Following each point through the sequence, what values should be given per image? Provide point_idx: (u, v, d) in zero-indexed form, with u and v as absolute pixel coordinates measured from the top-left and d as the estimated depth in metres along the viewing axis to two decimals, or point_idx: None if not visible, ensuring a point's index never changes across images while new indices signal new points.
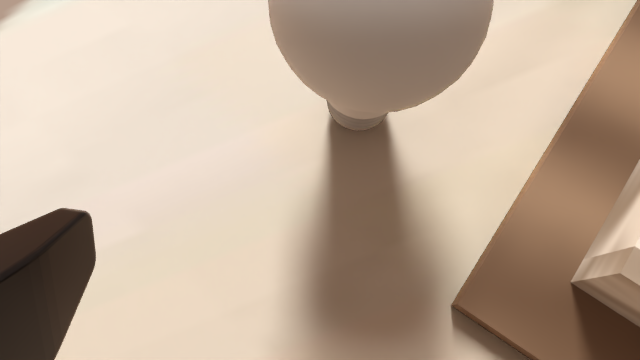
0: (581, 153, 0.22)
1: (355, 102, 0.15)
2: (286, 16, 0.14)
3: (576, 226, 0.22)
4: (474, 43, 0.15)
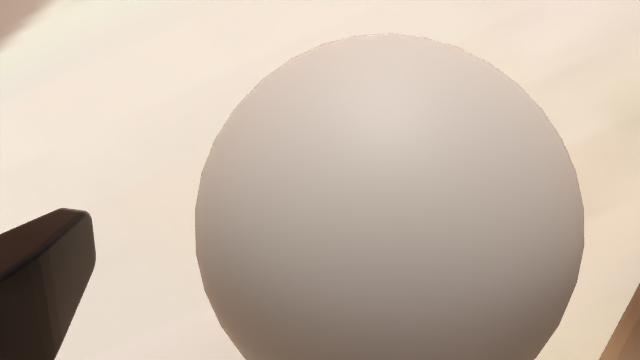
0: None
1: None
2: (216, 289, 0.08)
3: None
4: (552, 332, 0.08)
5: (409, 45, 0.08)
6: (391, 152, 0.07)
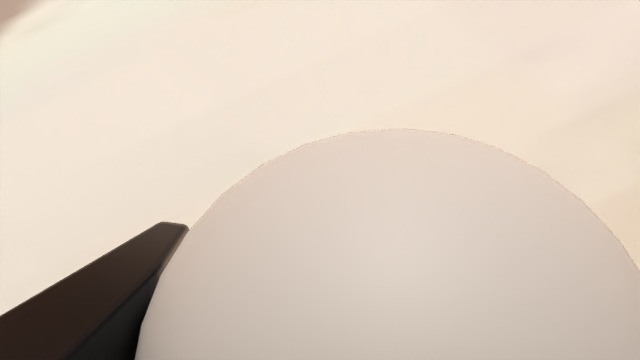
0: None
1: None
2: None
3: None
4: None
5: (438, 165, 0.05)
6: None
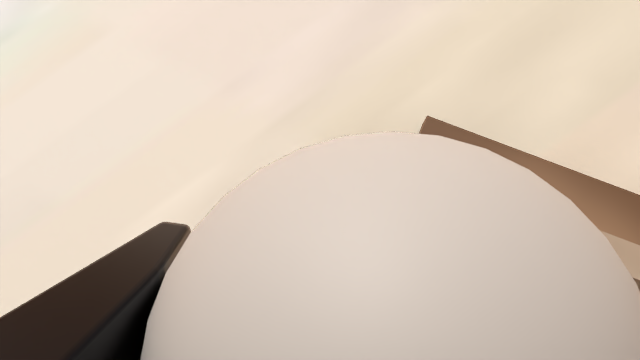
0: None
1: None
2: None
3: None
4: None
5: (414, 166, 0.06)
6: None
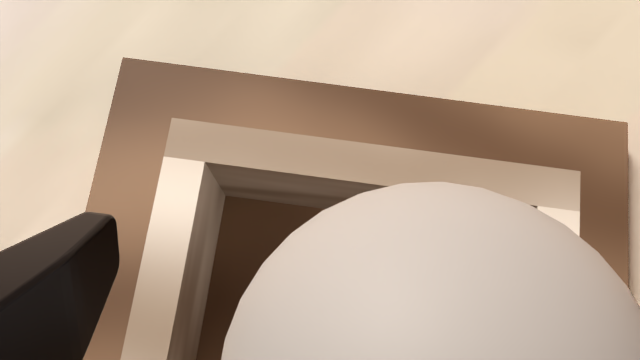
0: None
1: None
2: None
3: None
4: None
5: (482, 224, 0.07)
6: None
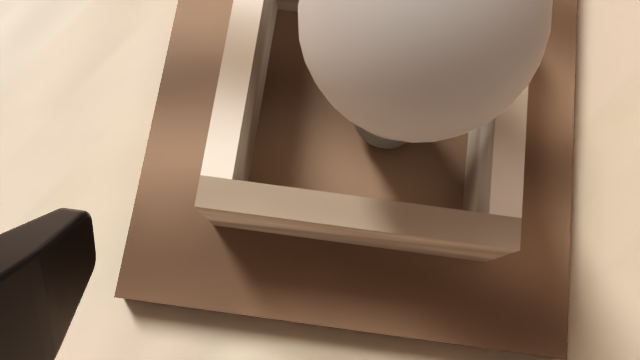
0: (183, 100, 0.22)
1: (389, 132, 0.14)
2: (318, 35, 0.13)
3: (201, 170, 0.22)
4: (528, 73, 0.13)
5: None
6: None
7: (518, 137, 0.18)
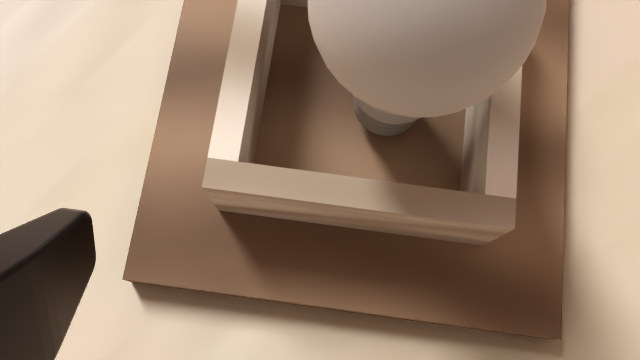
0: (190, 91, 0.23)
1: (394, 104, 0.14)
2: (328, 10, 0.14)
3: (206, 158, 0.22)
4: (525, 49, 0.14)
5: None
6: None
7: (512, 122, 0.19)
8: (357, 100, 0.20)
